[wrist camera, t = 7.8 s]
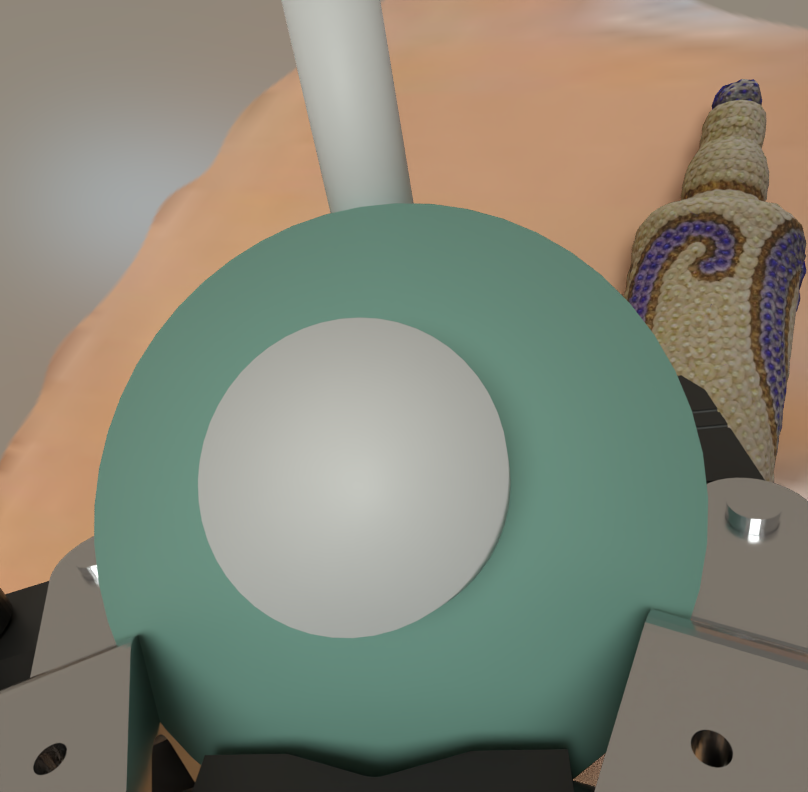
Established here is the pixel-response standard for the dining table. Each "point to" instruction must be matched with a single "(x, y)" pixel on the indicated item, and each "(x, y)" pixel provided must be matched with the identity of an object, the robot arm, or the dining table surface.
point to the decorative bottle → (726, 275)
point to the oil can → (395, 471)
